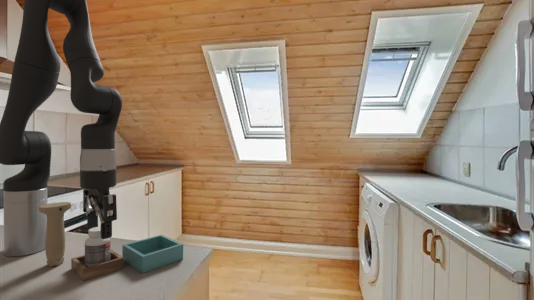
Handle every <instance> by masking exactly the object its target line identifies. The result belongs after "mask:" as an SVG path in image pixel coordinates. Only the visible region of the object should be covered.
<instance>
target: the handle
mask: <svg viewBox="0 0 534 300" xmlns="http://www.w3.org/2000/svg"><path fill="white" fill-rule="evenodd" d="M71 207H72V202H68V201H60V202H52V203H47V204H45V205H41V206H39V212H41V213H43V214H46V215H47V228H46V240H45V245H46V246H45V249H44V250H45V256H46V264H47V266H49V267H55V266H57V267H58V266H60V265H61V264H63V263H64V260H65V257H64V256H65V251H66V233H65V217H64V216H65V213H66V212H67V211H68V210H70V209H71Z"/></svg>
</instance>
